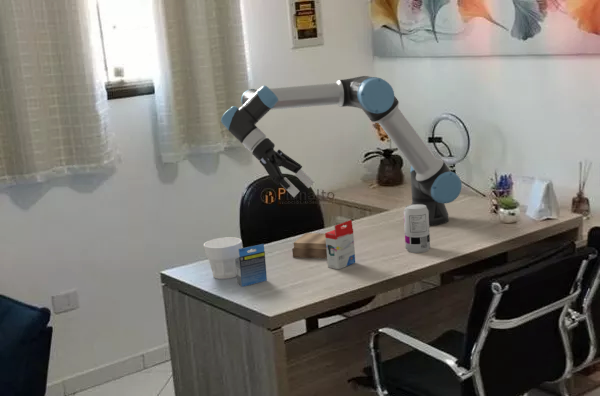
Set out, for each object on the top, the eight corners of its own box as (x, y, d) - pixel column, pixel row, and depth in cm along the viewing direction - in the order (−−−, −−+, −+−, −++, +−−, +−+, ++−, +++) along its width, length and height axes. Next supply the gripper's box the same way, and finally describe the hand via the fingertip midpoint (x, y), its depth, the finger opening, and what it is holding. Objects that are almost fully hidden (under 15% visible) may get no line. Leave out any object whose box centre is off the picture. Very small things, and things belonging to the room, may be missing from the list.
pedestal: (340, 247, 283) (339, 233, 281) (329, 258, 271) (327, 244, 270) (305, 246, 287) (304, 232, 286) (292, 257, 275) (291, 243, 274)
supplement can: (400, 251, 272) (398, 208, 269) (414, 245, 278) (412, 202, 275) (420, 254, 267) (418, 210, 263) (434, 248, 272) (432, 205, 269)
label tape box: (262, 277, 256) (258, 240, 254) (267, 281, 253) (264, 243, 250) (236, 284, 252) (233, 246, 250) (242, 287, 249) (238, 249, 246)
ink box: (344, 260, 267) (341, 217, 264) (355, 262, 264) (353, 219, 260) (327, 267, 261) (323, 223, 258) (338, 270, 258) (335, 225, 255)
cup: (213, 283, 254) (210, 250, 252) (202, 273, 266) (198, 241, 263) (250, 276, 259) (247, 243, 257) (237, 266, 270) (234, 234, 268)
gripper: (267, 146, 281) (310, 189, 279) (236, 159, 259) (283, 206, 256) (280, 131, 278) (323, 174, 276) (250, 143, 256) (297, 190, 253)
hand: (304, 189), depth 266 cm, fingers open, 13 cm apart
